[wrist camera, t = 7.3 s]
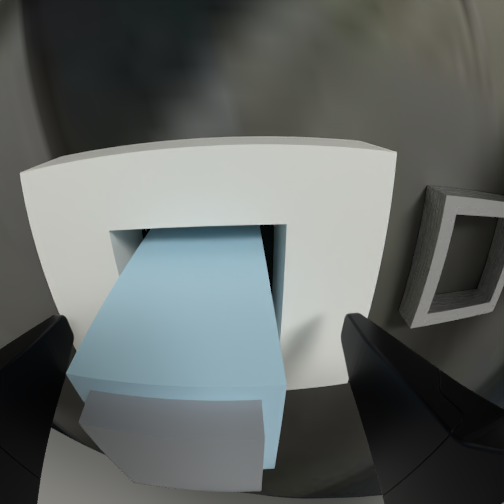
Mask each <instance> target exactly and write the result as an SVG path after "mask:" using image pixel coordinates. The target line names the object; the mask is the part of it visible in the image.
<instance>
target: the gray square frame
mask: <svg viewBox="0 0 504 504" xmlns="http://www.w3.org/2000/svg"><path fill="white" fill-rule="evenodd" d="M456 214H457V215H474V216H489V217H498V222H497V226H496V230H495V233H494V237H493V241H492V244H491V248H490V251H489V254H488V258H487V261H486V264H485V267H484V270H483V273H482V276H481V279H480V281H479V284H478V287H477V289H472V290H465V291H458V292H451V293H444V294H436V295H434V294H435V291H436V288H437V285H438V282H439V279H440V275H441V272H442V269H443V265H444V262H445V258H446V255H447V251H448V247H449V243H450V239H451V235H452V231H453V227H454V222H455V218H456ZM503 286H504V195H499V194H493V193H486V192H479V191H472V190H465V189H457V188H448V187H439V186H430V185H427V192H426V198H425V204H424V210H423V215H422V221H421V226H420V231H419V235H418V240H417V245H416V249H415V253H414V257H413V261H412V265H411V269H410V273H409V277H408V281H407V284H406V288H405V291H404V295H403V298H402V301H401V304H400V308H399V312H400V314H401V315H402V317H403V318H404V320H405V321H406V323H407V324H408V326H409V327H410V328H416V327H422V326H427V325H433V324H438V323H443V322H448V321H453V320H458V319H462V318H467V317H471V316H476V315H480V314H484V313H488V312H492V311H493V310H494V307H495V305H496V303H497V301H498V298H499V296H500V293H501V291H502V288H503Z"/></svg>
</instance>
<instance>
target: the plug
mask: <svg viewBox="0 0 504 504" xmlns="http://www.w3.org/2000/svg"><path fill="white" fill-rule="evenodd" d="M66 375H67V377H68V378H69V380H70V381H71V383H72V385H73V386H74V388H75V390H76V391H77V393H78V394H79V396H80V397H81V399H82V400H83V402H84V403H85V406H84V408H83V411H82V414H81V416H80V419H79V422H78V423H79V424H80V426H81V427H82V428H83V429H84V430H85V432H86V433H87V434H88V435H89V436H90V438H91V439H92V440H93V441H94V442H95V443H96V445H97V446H98V447H99V448H100V449H101V450H102V451H103V452H104V453H105V454H106V456H107V457H108V458H109V459H110V460H111V461H112V462H113V463H114V464H115V465H116V466H117V467H118V468H119V469H120V470H121V471H122V472H123V473H124V474H125V475H126V476H127V477H128V478H129V479H131V481H133V482H134V483H138V484H144V485H150V486H157V487H165V488H174V489H184V490H197V491H198V490H199V491H222V492H224V491H226V492H242V491H261V488H262V474H263V469H274V468H275V462H276V456H277V449H278V443H279V437H280V430H281V423H282V416H283V409H284V402H285V394H286V387H287V383H286V377H285V371H284V365H283V359H282V353H281V347H280V341H279V335H278V329H277V323H276V317H275V311H274V305H273V299H272V294H271V288H270V282H269V276H268V271H267V265H266V259H265V254H264V248H263V242H262V237H261V231H260V226H259V225H230V226H199V227H173V228H151V229H150V230H149V232H148V233H147V235H146V236H145V238H144V239H143V241H142V242H141V244H140V245H139V247H138V248H137V250H136V251H135V253H134V254H133V256H132V258H131V259H130V261H129V262H128V264H127V265H126V267H125V268H124V270H123V272H122V273H121V275H120V276H119V278H118V280H117V281H116V283H115V285H114V286H113V288H112V290H111V291H110V293H109V295H108V296H107V298H106V300H105V301H104V303H103V305H102V306H101V308H100V310H99V312H98V313H97V315H96V317H95V319H94V321H93V322H92V324H91V326H90V328H89V330H88V331H87V333H86V335H85V337H84V339H83V341H82V343H81V344H80V346H79V348H78V350H77V352H76V354H75V356H74V358H73V360H72V362H71V364H70V366H69V368H68V370H67V372H66Z"/></svg>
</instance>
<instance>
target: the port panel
mask: <svg viewBox="0 0 504 504" xmlns="http://www.w3.org/2000/svg"><path fill="white" fill-rule="evenodd" d="M396 156H397V152H395V151H392V150H388V149H385V148H382V147H379V146H376V145H372V144H369V143H366V142H362V141H356V140H345V139H331V138H313V137H283V136H244V137H214V138H196V139H182V140H170V141H159V142H150V143H141V144H133V145H126V146H118V147H112V148H105V149H99V150H93V151H87V152H82V153H77V154H71V155H66V156H62V157H59V158H56V159H54V160H51V161H48V162H46V163H43V164H40V165H38V166H35V167H33V168H30V169H28V170H26V171H23V172H21V173H20V178H21V184H22V190H23V195H24V200H25V205H26V209H27V214H28V218H29V222H30V226H31V230H32V234H33V238H34V241H35V245H36V248H37V252H38V255H39V258H40V262H41V265H42V268H43V271H44V274H45V277H46V280H47V283H48V285H49V288H50V291H51V294H52V296H53V299H54V301H55V304H56V306H57V309H58V311H59V314H60V315H64V316H65V317H66V318H67V320H68V322H69V325H70V327H71V329H72V331H73V334H74V342H73V345H74V347H75V349H76V351H77V350H78V348H79V346H80V344H81V343H82V341H83V339H84V337H85V335H86V333H87V331H88V330H89V328H90V326H91V324H92V322H93V321H94V319H95V317H96V315H97V313H98V312H99V310H100V308H101V306H102V305H103V303H104V301H105V300H106V298H107V296H108V295H109V293H110V291H111V290H112V288H113V286H114V285H115V283H116V281H117V280H118V278H119V276H120V275H121V273H122V272H123V270H124V268H125V267H126V265H127V264H128V262H129V261H130V259H131V258H132V256H133V254H134V253H135V251H136V250H137V248H138V247H139V245H140V244H141V242H142V241H143V235H142V229H151V228H173V227H199V226H230V225H273V224H274V252H273V286H272V299H273V305H274V311H275V317H276V323H277V329H278V335H279V341H280V347H281V353H282V359H283V365H284V371H285V377H286V383H287V387H286V390H293V389H304V388H314V387H323V386H331V385H338V384H345V383H348V380H349V377H348V373H347V368H346V363H345V358H344V353H343V348H342V343H341V331H342V327H343V323H344V318H345V316H346V314H348V313H360V314H362V315H363V316H365V317H366V318H368V314H369V311H370V307H371V303H372V299H373V295H374V291H375V286H376V282H377V278H378V273H379V268H380V264H381V259H382V254H383V249H384V243H385V238H386V232H387V227H388V220H389V214H390V207H391V200H392V193H393V185H394V176H395V167H396Z"/></svg>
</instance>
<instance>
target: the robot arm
mask: <svg viewBox="0 0 504 504" xmlns="http://www.w3.org/2000/svg"><path fill="white" fill-rule="evenodd" d="M73 342H74V334H73V331H72V329H71V327H70V325H69V322H68V320H67V318H66V317H65V316H64V315H57V314H56V315H53V316H51V317H50V318H48V319H46V320H45V321H43V322H42V323H40V324H38V325H37V326H35V327H34V328H32V329H31V330H29V331H27V332H26V333H24V334H23V335H21V336H20V337H18V338H17V339H15V340H14V341H12V342H10V343H9V344H7V345H6V346H4V347H3V348H1V349H0V504H37V500H38V493H39V485H40V478H41V473H42V467H43V461H44V456H45V452H46V447H47V443H48V438H49V434H50V430H51V426H52V422H53V418H54V414H55V410H56V407H57V403H58V400H59V396H60V393H61V390H62V386H63V383H64V380H65V376H66V372H67V367H68V363H69V359H70V354H71V350H72V346H73ZM341 343H342V348H343V353H344V358H345V363H346V368H347V373H348V377H349V382H350V385H351V389H352V392H353V395H354V398H355V401H356V404H357V408H358V411H359V414H360V417H361V421H362V424H363V427H364V430H365V434H366V437H367V441H368V444H369V447H370V451H371V454H372V458H373V462H374V465H375V469H376V472H377V476H378V480H379V484H380V487H381V491H382V495H383V500H384V504H504V409H502V408H500V407H499V406H497V405H495V404H493V403H492V402H490V401H488V400H486V399H485V398H483V397H481V396H480V395H478V394H476V393H474V392H473V391H471V390H470V389H468V388H466V387H465V386H463V385H461V384H460V383H458V382H457V381H455V380H454V379H453V378H451V377H450V376H448V375H447V374H445V373H444V372H443V371H441V370H440V371H439V369H438V368H437V367H435V366H434V365H433V364H431V363H430V362H428V361H427V360H426V359H424V358H423V357H421V356H420V355H419V354H417V353H416V352H414V351H413V350H412V349H410V348H409V347H407V346H406V345H404V344H403V343H402V342H400V341H399V340H397V339H396V338H395V337H393V336H392V335H390V334H389V333H387V332H386V331H385V330H383V329H382V328H380V327H379V326H377V325H376V324H375V323H373V322H372V321H370V320H369V319H367V318H366V317H365V316H363V315H362V314H360V313H348V314H346V316H345V318H344V323H343V327H342V331H341Z"/></svg>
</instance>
